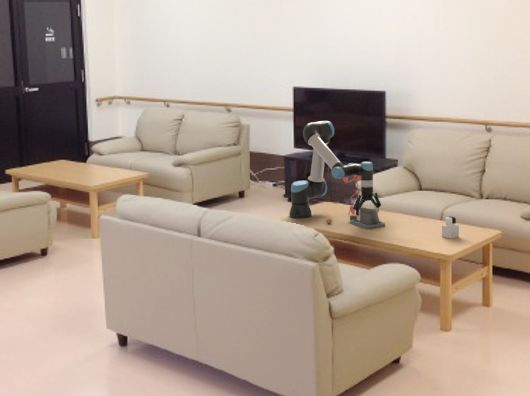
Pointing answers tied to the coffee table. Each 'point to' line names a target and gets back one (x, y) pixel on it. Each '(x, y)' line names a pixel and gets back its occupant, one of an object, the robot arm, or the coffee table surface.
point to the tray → (356, 222)
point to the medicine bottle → (450, 228)
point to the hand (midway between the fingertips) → (367, 218)
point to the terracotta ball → (328, 220)
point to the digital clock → (368, 216)
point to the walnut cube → (353, 217)
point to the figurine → (355, 192)
